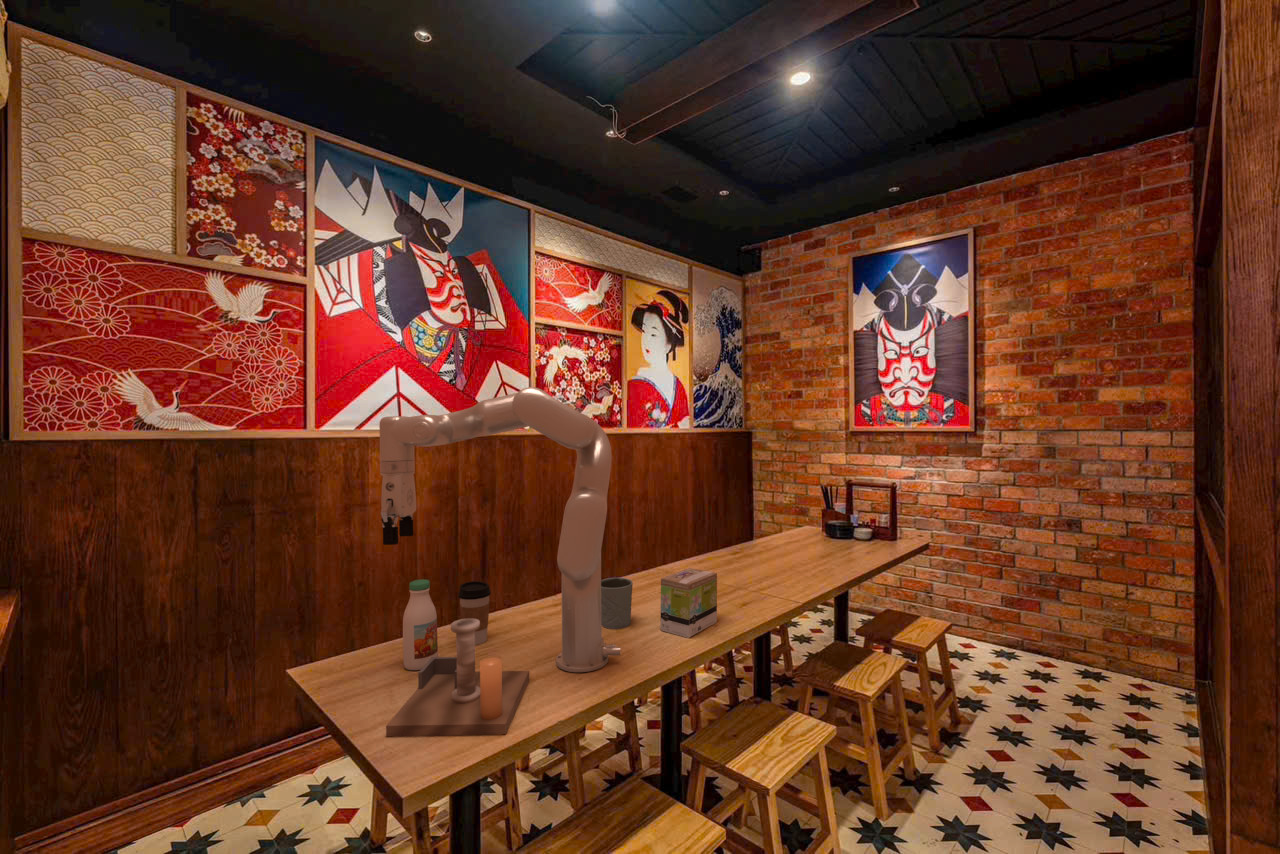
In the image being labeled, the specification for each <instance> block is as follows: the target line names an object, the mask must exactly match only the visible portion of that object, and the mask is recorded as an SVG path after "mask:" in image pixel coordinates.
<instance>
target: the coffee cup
mask: <svg viewBox="0 0 1280 854" xmlns="http://www.w3.org/2000/svg"><path fill="white" fill-rule="evenodd" d="M491 594H492V591H491V589H490V585H489V584H488V583H487V582H483V581H477V580H475V581H473V580H471V581H466V582H464V583H461V584H460V585H459V592H458V594H457V595H458V599H459V610H460V619H467V618H474V619H478V620H479V621H480V627H479V629H477V630H475V646H477V645H478V646H479V645H481V644H484V643H486V642H487V640H488V628H489V627H488V626H489V617H490V616H489V615H490V614H489V613H490V602H491V600H490V595H491Z"/></svg>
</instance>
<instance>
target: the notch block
mask: <svg viewBox="0 0 1280 854" xmlns="http://www.w3.org/2000/svg"><path fill="white" fill-rule="evenodd" d="M434 674H454V675H455V689H457V656H438V657H432V658H431V659H430V660H429V661H428V662H427V663H426V664H425V666H424V667H423V668H422V669H421V670H418V673H417V675H418V676H417V677H418V686H417V688H418V687H419V689H423V688H424V686H425V685H426V684H427V683H428V682H429V680H430V679H431V678H432V677H433V676H434Z"/></svg>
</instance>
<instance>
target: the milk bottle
mask: <svg viewBox="0 0 1280 854" xmlns="http://www.w3.org/2000/svg"><path fill="white" fill-rule="evenodd" d="M408 585H409V591H408V592H409V593H410V596H409V599H408V603H407V604H406V607H405V609H404V612H403V615H402V616H403V618H402V662H403V668H404V669H406V670H409V671H420V670H421V669H422V668H423V667H424V666H425V664H426V663H427V662H428V661H429V660H430V659H431V658H432V657H439V652H438V651H439V650H438V649H439V647H438V618H437V617H438V616H437V610H436V607H435V605H434V602H433V600H432V598H431V595H430V586H431V582H430V580H429V579H415V580H412V581H410V582H409V584H408Z"/></svg>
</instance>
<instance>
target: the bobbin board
mask: <svg viewBox="0 0 1280 854" xmlns="http://www.w3.org/2000/svg"><path fill="white" fill-rule="evenodd" d="M479 627H480V621H479V620H478V619H474V618H467V619H461V618H460V619H458V620H454V621H453V622H451V623H450V632H452V633H455V636H456V637H455V638H456V639H455V641H456V643H455V644H456V657H457V689H455V675H454V674H434V676H433V677H432V678H431V679H430V680H429V682H428V683H427V684H426V685H425V686H424V688H423V689H419V687H418V686H417V688H416V690H415V691H414V692H413V693H412V695H410V697H408V699H407V700H406V702H405V703H403V705H402V706H401V707H400V709H399V710H398V711H397V712H396V714H394V716H393V717H392V718H391V719H390V721H389V722H388V723H387V724H386V725H385V732H386V735H385V736H386V737H387V736H389V737H390V736H392V737H431V736H432V737H444V736H447V737H449V736H496V735H495V734H506V735H507V733H508V730H509V728H508V727H510V726H509V725H511V724H512V721H511V720H513V719H514V716H515V714H516V712H517V709H518V706H519V704H520V703H521V700H522V698H523V695H524V693H525V690H526V688H527V686H528V683H529V681H530V670H502V715H501V716H500V717H498V718H496V719H492V720H485V719H482V718H481V704H480V671H476V645H475V630H477V629H479ZM512 718H513V719H512ZM506 732H507V733H506ZM493 734H494V735H493ZM389 737H387V738H389Z"/></svg>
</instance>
